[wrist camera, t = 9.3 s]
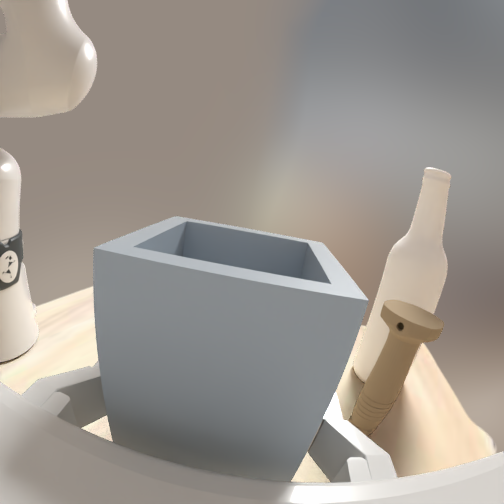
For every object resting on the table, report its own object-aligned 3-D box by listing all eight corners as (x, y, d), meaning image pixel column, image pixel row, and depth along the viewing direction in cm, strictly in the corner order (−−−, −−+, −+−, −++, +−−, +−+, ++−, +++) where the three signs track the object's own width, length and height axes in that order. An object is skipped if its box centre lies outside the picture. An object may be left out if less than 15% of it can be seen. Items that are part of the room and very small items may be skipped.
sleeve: (132, 522, 8) (80, 248, 5) (162, 447, 13) (172, 214, 10) (253, 548, 8) (381, 306, 5) (259, 467, 13) (327, 242, 10)
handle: (353, 406, 31) (398, 297, 27) (390, 434, 26) (450, 322, 22) (327, 421, 28) (374, 303, 25) (367, 454, 23) (433, 333, 19)
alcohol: (340, 372, 38) (399, 157, 31) (365, 352, 45) (415, 171, 37) (391, 399, 32) (466, 172, 25) (409, 374, 39) (469, 184, 31)
